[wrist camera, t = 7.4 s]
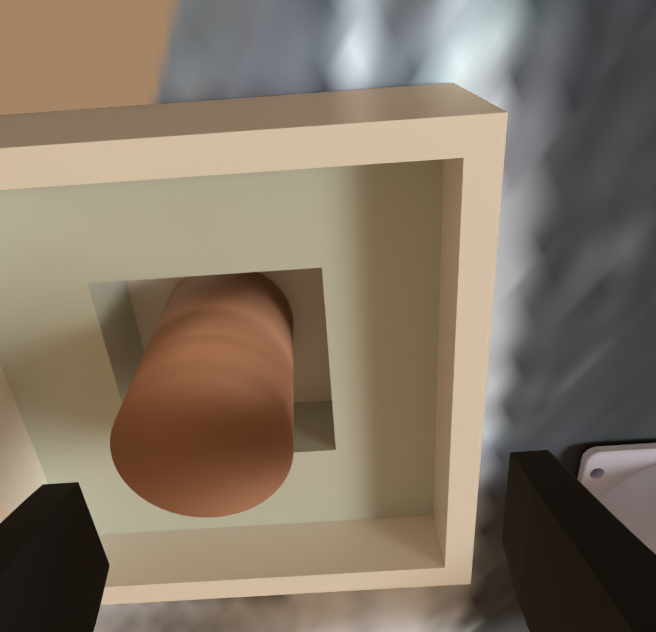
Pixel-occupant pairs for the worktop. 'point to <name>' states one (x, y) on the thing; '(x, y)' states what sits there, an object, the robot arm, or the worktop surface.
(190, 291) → the peg
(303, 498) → the bore box
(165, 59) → the worktop surface
